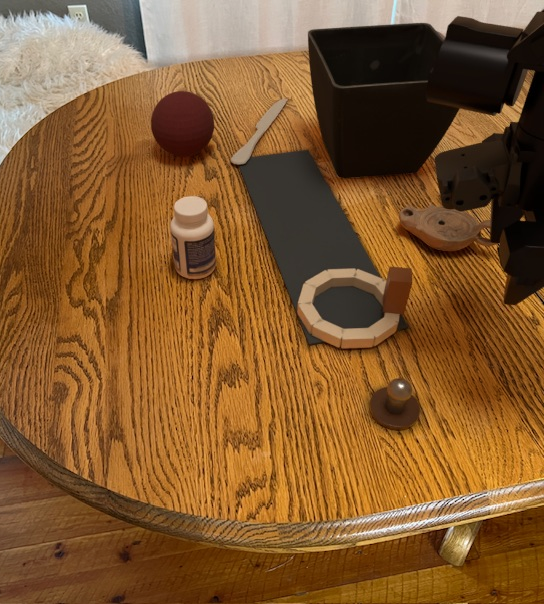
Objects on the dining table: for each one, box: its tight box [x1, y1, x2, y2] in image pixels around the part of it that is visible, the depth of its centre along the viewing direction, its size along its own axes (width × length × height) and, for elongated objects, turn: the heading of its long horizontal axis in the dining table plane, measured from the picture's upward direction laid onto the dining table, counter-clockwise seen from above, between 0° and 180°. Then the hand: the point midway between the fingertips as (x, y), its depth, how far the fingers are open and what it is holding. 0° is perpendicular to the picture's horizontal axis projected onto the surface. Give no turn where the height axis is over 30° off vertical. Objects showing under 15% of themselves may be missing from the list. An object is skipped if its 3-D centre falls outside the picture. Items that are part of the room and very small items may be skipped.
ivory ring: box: [296, 265, 413, 349], centre depth 69 cm, size 12×12×7 cm
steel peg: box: [368, 377, 421, 431], centre depth 60 cm, size 5×5×4 cm
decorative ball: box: [150, 90, 215, 158], centre depth 95 cm, size 10×10×10 cm
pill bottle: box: [169, 195, 217, 280], centre depth 75 cm, size 5×5×10 cm
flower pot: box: [307, 22, 460, 179], centre depth 90 cm, size 19×19×17 cm
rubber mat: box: [237, 149, 410, 346], centre depth 83 cm, size 40×12×1 cm, turn 11°
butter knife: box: [230, 98, 289, 166], centre depth 102 cm, size 1×24×3 cm
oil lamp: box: [398, 204, 499, 252], centre depth 79 cm, size 13×8×5 cm, turn 55°
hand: (501, 271), depth 59 cm, fingers open, 9 cm apart
